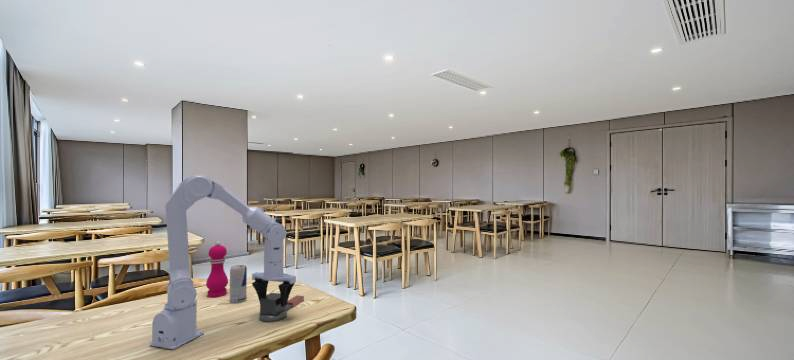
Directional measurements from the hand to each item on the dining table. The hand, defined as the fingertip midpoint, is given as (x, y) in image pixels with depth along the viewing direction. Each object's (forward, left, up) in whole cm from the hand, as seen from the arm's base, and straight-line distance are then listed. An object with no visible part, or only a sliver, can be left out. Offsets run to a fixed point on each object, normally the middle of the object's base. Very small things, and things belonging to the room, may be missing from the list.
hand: (273, 304), depth 102 cm
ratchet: (+6, 0, -4) cm, 7 cm away
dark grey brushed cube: (0, 0, -2) cm, 2 cm away
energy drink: (+9, +21, -4) cm, 23 cm away
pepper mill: (+12, +33, -4) cm, 35 cm away
